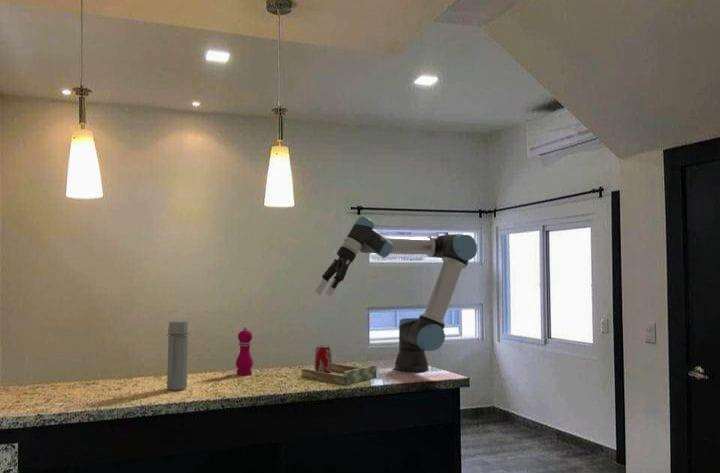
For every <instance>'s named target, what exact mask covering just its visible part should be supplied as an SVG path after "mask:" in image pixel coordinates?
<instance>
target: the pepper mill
mask: <svg viewBox="0 0 720 473" xmlns="http://www.w3.org/2000/svg"><path fill="white" fill-rule="evenodd" d="M237 338H238V341H239V344H238V346H239V353H238V356H237V358H236V361H235V366H236V368H237V369H236V375H237V376H243V377H245V376H250V375H252V373H253V370H252V367H253V366H254V360H253V358H252V354H251V352H250V346H251V345H252V344H251V343H252V342H251V340H252V339H253V333H252V332H251V331H250V330H248V327H247V326H244V327H243V328H242V331H241V330H240V331H239V332H238V335H237Z"/></svg>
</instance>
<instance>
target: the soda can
mask: <svg viewBox="0 0 720 473" xmlns="http://www.w3.org/2000/svg"><path fill="white" fill-rule="evenodd" d="M332 352H333V351H332V348H331V345H328V344H320V345H316V347H315V352H314V371H318V372H324V373H330V374H332V370H331V364H332V356H333V355H332Z"/></svg>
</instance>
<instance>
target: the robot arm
mask: <svg viewBox="0 0 720 473" xmlns="http://www.w3.org/2000/svg"><path fill="white" fill-rule="evenodd" d="M374 227H375V223H374V222H373V220H372V219H370V218H368V217H366V216H359V217H358V218H357V219H356V221H355V223H354V224H353V225H352V227H351V229H350V231H349V233H348V234H347V236H346V237H345V238H343V243H342V244H341V246H340V247H339V249H338V250H337V252H336V255H337V256H338V258H335V259H334V260H333V262H332V263H331V264H330V265H329V267H328V268H327V269H326V271H324V273H323V274H322V276H321V277H322V279H321V281H320V283H319V284H318V286H317V287H316V289H315V290H314V293H316V294H317V295H319V296H321V295H322V293H323V292H324V290H325V288H326V287H327V285H328V283H330V284H329V286H328V287H327V289H326V291H325V294H326V295H327V296H329V297H332V296H333V295H334V293H335V291H336V290H337V287H338V285H339V284H340V282H343V281H344V279H345V277H346V275H347V271H348V269H349V266H350V265H351V264H352V263H353V262H354V260H355V259H356V257H357V255H358V254H359V252H360V253H361V254H377V255H378V256H380V257H381V258H386V257H388V256H389V255H390V254H394V255H397V254H398V255H399V254H400V255H423V256H424V255H426V256H427V257H429V258H440V259H441V261H442V265H441V268H440V271H439V274H438V276H437V278H436V281H435V285H434V286H433V290H432V293H431V295H430V297H429V300H428V303H427V306H426V309H425V310H424V313H422V314H420V315H419V317H407V318H406V317H405V318H404V317H403V318H401V319H399V326H398V333H399V334H398V337H399V338H398V353H397V357H396V360H395V363H394V369H395V370H396V371H401V372H413V373H414V372H415V373H416V372H425V371H428V370H429V362H428V360H427V356H426V355H427V354H426V352H433V351H437V350H439V349H440V348H441V347H442V346H443V344H444V343H445V340H446V333H445V331H444V328H445V326H446V324H445V321H444V319H445V316H446V313H447V310H448V307H449V306H450V302H451V300H452V296H453V294H454V292H455V289H456V286H457V283H458V280H459V277H460V275H461V272H462V271H463V269H466V268H467V266H468V264H469V261H471V260H473V259H474V258H475V256H476V255H477V253H478V244H477V242H476V240H475V238H474V237H473V236H471V235H470V234H468V233H455V234H452V233H451V234H450V233H449V234H443V235H436V236H435V235H429V236H428V237H406V236H405V237H404V236H403V237H401V236H383V235H382V234H381V233H380V232H378V231H377V230H375V229H374ZM334 275H335V276H334ZM332 277H333V279H332V281H331V282H330V280H331V278H332ZM425 351H426V352H425Z"/></svg>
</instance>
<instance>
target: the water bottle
mask: <svg viewBox="0 0 720 473" xmlns="http://www.w3.org/2000/svg"><path fill="white" fill-rule="evenodd" d="M188 325H189V324H188V320H171V321H169V322H168V329H167V334H166V337H168V341H167V342H168V343H167V346H168V347H167V350H168V351H167V371H166V372H167V377H166V388H167V389H168V390H169V391H174V392H175V391H176V392H178V391H183V390H186V389H187V387H188V361H189V359H188V358H189V356H188V353H189V335H190V333H189V326H188Z"/></svg>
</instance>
